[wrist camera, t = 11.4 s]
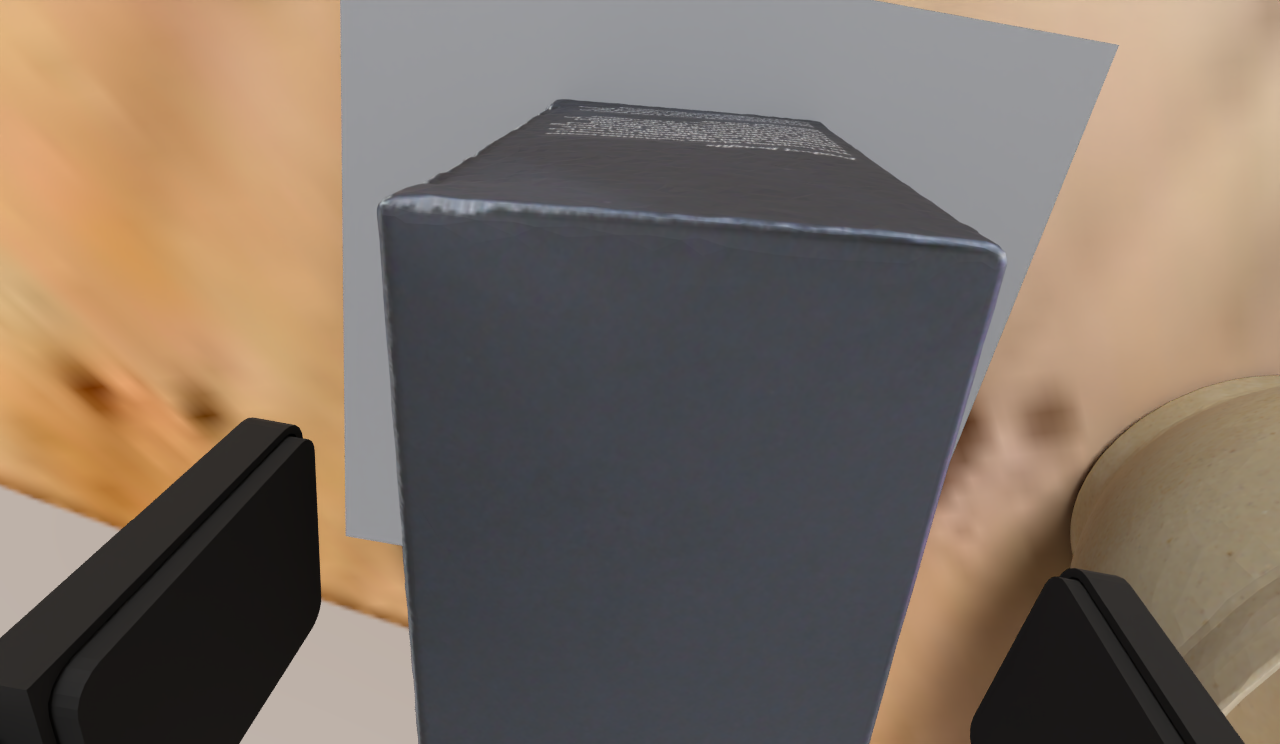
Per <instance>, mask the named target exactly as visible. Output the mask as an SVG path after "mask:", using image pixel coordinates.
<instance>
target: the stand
mask: <svg viewBox="0 0 1280 744" xmlns="http://www.w3.org/2000/svg"><path fill="white" fill-rule="evenodd" d="M340 13H341V112H342V211H343V310H344V409H345V508H346V536H349V537H355V538H361V539H366V540H372V541H378V542H384V543H389V544H395V545H401V546H402V530H401V518H400V506H399V494H398V481H397V473H396V451H395V440H394V429H393V418H392V407H391V389H390V375H389V363H388V351H387V340H386V328H385V313H384V299H383V285H382V270H381V254H380V240H379V230H378V221H377V207H378V204H379V203H380V202H381V200H382V199H384V198H385V197H387V196H389V195H392V194H393V193H395V192H397V191H399V190H402V189H404V188H406V187H409V186H414V185H418V184H422V183H423V182H425V181H426V180H428V179H430V178H432V177H433V176H435V175H436V174H438V173H441V172H447V171H448V170H449V169H451V168H453V167H455V166H456V165H458V164H460V163H462V162H463V160H464V159H466V158H468V157H474V155H475V154H476V152H478V151H480V150H482V149H484V148H485V147H486V145H488V144H490V143H492V142H494V141H496V140H497V139H499V138H501V137H503V136H504V135H506V134H507V133H509V132H510V131H512V130H514V129H516V128H517V127H519V126H520V125H523V124H525V123H526V122H527V121H528V120H529V119H531V118H533V117H535V116H537V115H538V114H539V113H541V112H543V111H544V110H545V109H546V108H547V107H548V106H549V105H550V104H552V103H553V102H554V101H556V100H559V99H571V100H578V101H592V102H604V103H620V104H628V105H641V106H652V107H665V108H678V109H689V110H700V111H715V112H726V113H735V114H754V115H761V116H768V117H772V116H774V117H779V118H791V119H803V120H812V121H818V122H821V123H822V124H824V125H825V126H826V127H827V128H828V129H829V130H830V131H831V132H833V133H834V134H836V135H837V136H839V137H840V138H842V139H843V140H844V141H846V142H847V143H848V144H850V145H852V146H853V147H854V148H855V149H857V150H859V151H860V152H861V153H863V154H864V155H865V156H866V157H868V158H869V159H871V160H872V161H873V162H875V163H876V164H878V165H879V166H880V167H882V168H883V169H885V170H886V171H888V172H889V173H891V174H892V175H893V176H895V177H896V178H897V179H899V180H900V181H901V182H903V183H905V184H906V185H908V186H910V187H911V188H912V189H914V190H915V191H916V192H917V193H919V194H920V195H922V196H923V197H925V198H927V199H928V200H930V201H932V202H933V203H934V204H935V205H937V206H938V207H939V208H941V209H942V210H944V211H945V212H947V213H948V214H950V215H951V216H952V217H954V218H955V219H956V220H958V221H959V222H961V223H963V224H966V225H968V226H970V227H972V228H973V229H975V230H977V231H978V233H979V234H981V235H982V236H984V237H986V238H988V239H989V240H991V241H993V242H994V243H996V244H998V245H999V246H1000V247H1001V248H1002V249H1003V250H1004V251H1005V253H1006V258H1007V262H1008V263H1007V267H1006V270H1005V274H1004V278H1003V281H1002V285H1001V288H1000V292H999V296H998V299H997V303H996V306H995V310H994V313H993V317H992V320H991V323H990V326H989V329H988V332H987V335H986V338H985V342H984V345H983V348H982V352H981V355H980V359H979V363H978V367H977V370H976V374H975V378H974V381H973V385H972V388H971V391H970V395H969V398H968V401H967V405H966V408H965V412H964V415H963V418H962V422H961V425H960V429H959V432H958V435H957V439H956V442H955V446H954V449H953V452H952V455H953V453H954V450H955V448H956V445H957V443H958V440H959V438H960V435H961V433H962V430H963V428H964V425H965V423H966V421H967V418H968V416H969V413H970V411H971V408H972V406H973V403H974V401H975V398H976V396H977V393H978V391H979V389H980V386H981V384H982V381H983V379H984V376H985V374H986V371H987V369H988V366H989V364H990V361H991V359H992V357H993V354H994V352H995V349H996V347H997V344H998V342H999V339H1000V337H1001V334H1002V332H1003V329H1004V327H1005V324H1006V322H1007V320H1008V317H1009V315H1010V312H1011V310H1012V307H1013V305H1014V302H1015V300H1016V297H1017V295H1018V292H1019V290H1020V288H1021V285H1022V283H1023V280H1024V278H1025V275H1026V273H1027V270H1028V268H1029V265H1030V263H1031V260H1032V258H1033V255H1034V253H1035V251H1036V248H1037V246H1038V243H1039V241H1040V238H1041V236H1042V233H1043V231H1044V228H1045V226H1046V223H1047V221H1048V219H1049V216H1050V214H1051V211H1052V209H1053V206H1054V204H1055V201H1056V199H1057V196H1058V194H1059V191H1060V189H1061V187H1062V184H1063V182H1064V179H1065V177H1066V174H1067V172H1068V169H1069V167H1070V164H1071V162H1072V159H1073V157H1074V154H1075V152H1076V150H1077V147H1078V145H1079V142H1080V140H1081V137H1082V135H1083V132H1084V130H1085V127H1086V125H1087V122H1088V120H1089V118H1090V115H1091V113H1092V110H1093V108H1094V105H1095V103H1096V100H1097V98H1098V95H1099V93H1100V90H1101V88H1102V86H1103V83H1104V81H1105V78H1106V76H1107V73H1108V71H1109V68H1110V66H1111V63H1112V61H1113V58H1114V56H1115V53H1116V51H1117V49H1118V46H1119V45H1116V44H1110V43H1105V42H1099V41H1094V40H1088V39H1083V38H1077V37H1072V36H1066V35H1061V34H1055V33H1050V32H1044V31H1039V30H1034V29H1028V28H1023V27H1017V26H1012V25H1006V24H1001V23H995V22H990V21H984V20H979V19H973V18H968V17H962V16H957V15H951V14H946V13H940V12H935V11H929V10H924V9H918V8H913V7H907V6H902V5H896V4H891V3H885V2H880V1H874V0H340ZM951 458H952V456H951ZM950 460H951V459H950Z"/></svg>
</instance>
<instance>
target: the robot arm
mask: <svg viewBox="0 0 1280 744" xmlns="http://www.w3.org/2000/svg"><path fill="white" fill-rule="evenodd" d="M320 605H321V581H320V559H319V537H318V515H317V492H316V470H315V450H314V445H313V443H312V441H310V440H308V439H303V436H302V432H301V430H300V428H299V427H297V426H296V425H291V424H286V423H280V422H275V421H269V420H264V419H258V418H247V419H246V420H244V421H243V422H241V423H240V424H239V425H238V426H237V427H236V428H234V429H233V430H232V431H231V432H230V433H229V434H228V435H227V436H226V437H224V438H223V439H222V440H221V441H220V442H219V443H218V444H217V445H216V446H214V447H213V448H212V449H211V450H210V451H209V452H208V453H207V454H206V455H204V456H203V457H202V458H201V459H200V460H199V461H198V462H197V463H195V464H194V465H193V466H192V467H191V468H190V469H189V470H188V471H187V472H185V473H184V474H183V475H182V476H181V477H180V478H179V479H178V480H177V481H175V482H174V483H173V484H172V485H171V486H170V487H169V488H168V489H167V490H165V491H164V492H163V493H162V494H161V495H160V496H159V497H158V498H157V499H155V500H154V501H153V502H152V503H151V504H150V505H149V506H148V507H147V508H145V509H144V510H143V511H142V512H141V513H140V514H139V515H138V516H136V517H135V518H134V519H133V520H131V521H130V522H129V523H128V524H127V525H126V526H125V527H124V528H122V529H121V530H120V531H119V532H118V533H117V534H116V535H115V536H114V537H112V538H111V539H110V540H109V541H108V542H107V543H106V544H105V545H103V546H102V547H101V548H100V549H99V550H98V551H97V552H96V553H95V554H93V555H92V556H91V557H90V558H89V559H88V560H87V561H86V562H85V563H83V565H81V566H80V567H79V568H78V569H77V570H76V571H74V572H73V573H72V574H71V575H70V576H69V577H68V578H67V579H66V580H65V581H63V582H62V583H61V584H60V585H59V586H58V587H57V588H56V589H55V590H53V591H52V592H51V593H50V594H49V595H48V596H47V597H45V598H44V599H43V600H42V601H41V602H40V603H39V604H38V605H37V606H36V607H35V608H34V609H32V610H31V611H30V612H29V613H28V614H27V615H25V617H23V618H22V619H21V620H20V621H19V622H18V623H17V624H15V625H14V626H13V627H12V628H11V629H10V630H9V631H8V632H7V633H6V634H4V635H3V636H2V637H1V638H0V744H239V743H240V741H241V740H242V738H243V737H244V735H245V734H246V732H247V730H248V729H249V727H250V726H251V724H252V722H253V721H254V719H255V718H256V716H257V715H258V712H259V711H260V710H261V708H262V707H263V705H264V704H265V702H266V700H267V699H268V697H269V696H270V694H271V692H272V691H273V689H274V688H275V686H276V685H277V683H278V681H279V679H280V678H281V677H282V675H283V674H284V672H285V670H286V669H287V667H288V666H289V664H290V663H291V661H292V659H293V658H294V656H295V655H296V653H297V651H298V650H299V648H300V647H301V645H302V644H303V642H304V640H305V639H306V637H307V636H308V634H309V632H310V631H311V629H312V627H313V626H314V624H315V621H316V619H317V617H318V613H319V610H320ZM970 740H971V744H1245V743H1244V742H1243V740H1242V739H1241V738H1240V736H1239V735H1238V733H1237V732H1236V731H1235V729H1234V728H1233V726H1232V725H1231V724H1230V722H1229V721H1228V720H1227V718H1226V717H1225V715H1224V714H1223V713H1222V711H1221V710H1220V708H1219V707H1218V706H1217V704H1216V703H1215V702H1214V700H1213V699H1212V697H1211V696H1210V695H1209V693H1208V692H1207V690H1206V689H1205V688H1204V686H1203V685H1202V684H1201V682H1200V681H1199V679H1198V678H1197V677H1196V675H1195V674H1194V672H1193V671H1192V670H1191V668H1190V667H1189V666H1188V664H1187V663H1186V661H1185V660H1184V659H1183V657H1182V656H1181V654H1180V653H1179V652H1178V650H1177V649H1176V648H1175V646H1174V645H1173V643H1172V642H1171V641H1170V639H1169V638H1168V636H1167V635H1166V634H1165V632H1164V631H1163V630H1162V628H1161V627H1160V625H1159V624H1158V623H1157V621H1156V620H1155V619H1154V617H1153V616H1152V614H1151V613H1150V612H1149V610H1148V609H1147V607H1146V606H1145V605H1144V603H1143V602H1142V601H1141V599H1140V598H1139V596H1138V595H1137V594H1136V592H1135V591H1134V589H1133V588H1132V587H1131V585H1130V584H1129V583H1128V582H1127V581H1126V580H1125V579H1124V578H1121V577H1119V576H1116V575H1110V574H1105V573H1099V572H1094V571H1089V570H1083V569H1078V568H1070V569H1067V570H1066V571H1064V572H1063V573H1062V574H1061V575H1060V577H1052V578H1051V579H1049V580H1048V581H1047V583H1046V584H1045V585H1044V587H1043V589H1042V591H1041V593H1040V595H1039V597H1038V598H1037V600H1036V602H1035V604H1034V606H1033V608H1032V609H1031V611H1030V613H1029V615H1028V617H1027V619H1026V621H1025V622H1024V624H1023V626H1022V628H1021V630H1020V632H1019V634H1018V635H1017V637H1016V639H1015V641H1014V643H1013V645H1012V647H1011V648H1010V650H1009V652H1008V654H1007V656H1006V658H1005V659H1004V661H1003V663H1002V665H1001V667H1000V669H999V671H998V672H997V674H996V676H995V678H994V680H993V682H992V684H991V685H990V687H989V689H988V691H987V693H986V695H985V696H984V698H983V700H982V702H981V704H980V706H979V708H978V709H977V711H976V713H975V715H974V717H973V720H972V723H971V728H970Z"/></svg>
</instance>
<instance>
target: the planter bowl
mask: <svg viewBox="0 0 1280 744" xmlns="http://www.w3.org/2000/svg"><path fill="white" fill-rule="evenodd" d="M1070 539H1071V549H1072V554H1073V559H1072V562H1071V566H1070V568H1078V569H1083V570H1089V571H1094V572H1099V573H1105V574H1110V575H1116V576H1119V577H1121V578H1124V579H1125V580H1126V581H1127V582H1128V583H1129V584H1130V585H1131V587H1132V588H1133V589H1134V591H1135V592H1136V594H1137V595H1138V596H1139V598H1140V599H1141V601H1142V602H1143V603H1144V605H1145V606H1146V607H1147V609H1148V610H1149V612H1150V613H1151V614H1152V616H1153V617H1154V619H1155V620H1156V621H1157V623H1158V624H1159V625H1160V627H1161V628H1162V630H1163V631H1164V632H1165V634H1166V635H1167V636H1168V638H1169V639H1170V641H1171V642H1172V643H1173V645H1174V646H1175V648H1176V649H1177V650H1178V652H1179V653H1180V654H1181V656H1182V657H1183V659H1184V660H1185V661H1186V663H1187V664H1188V666H1189V667H1190V668H1191V670H1192V671H1193V672H1194V674H1195V675H1196V677H1197V678H1198V679H1199V681H1200V682H1201V684H1202V685H1203V686H1204V688H1205V689H1206V690H1207V692H1208V693H1209V695H1210V696H1211V697H1212V699H1213V700H1214V702H1215V703H1216V704H1217V706H1218V707H1219V708H1220V710H1221V711H1222V713H1223V714H1224V715H1225V717H1226V718H1227V720H1228V721H1229V722H1230V724H1231V725H1232V726H1233V728H1234V729H1235V731H1236V732H1237V733H1238V735H1239V736H1240V738H1241V739H1242V740H1243V742H1244V743H1245V744H1280V375H1269V376H1254V377H1247V378H1240V379H1234V380H1229V381H1225V382H1221V383H1218V384H1214V385H1210V386H1207V387H1203V388H1200V389H1198V390H1196V391H1193V392H1191V393H1189V394H1186V395H1184V396H1182V397H1179V398H1177V399H1175V400H1172V401H1170V402H1169V403H1167V404H1165V405H1163V406H1161V407H1160V408H1158V409H1156V410H1155V411H1153V412H1152V413H1150V414H1148V415H1147V416H1145V417H1144V418H1142V419H1141V420H1139V421H1138V422H1137V423H1135V424H1134V425H1133V426H1131V427H1130V428H1129V429H1128V430H1127V431H1126V432H1125V433H1123V434H1122V435H1121V436H1120V437H1119V438H1118V439H1117V440H1116V441H1115V442H1114V443H1113V444H1112V445H1111V446H1110V447H1109V448H1108V449H1107V450H1106V451H1105V452H1104V453H1103V454H1102V456H1101V457H1100V458H1099V459H1098V460H1097V462H1096V463H1095V465H1094V466H1093V468H1092V469H1091V471H1090V472H1089V474H1088V475H1087V477H1086V479H1085V481H1084V483H1083V485H1082V487H1081V489H1080V491H1079V493H1078V496H1077V499H1076V502H1075V505H1074V509H1073V514H1072V518H1071V527H1070Z"/></svg>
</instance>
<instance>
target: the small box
mask: <svg viewBox="0 0 1280 744" xmlns="http://www.w3.org/2000/svg"><path fill="white" fill-rule="evenodd" d="M377 221H378V230H379V240H380V254H381V270H382V285H383V299H384V313H385V328H386V340H387V351H388V363H389V375H390V389H391V407H392V418H393V429H394V440H395V451H396V473H397V481H398V494H399V506H400V518H401V530H402V546H403V562H404V573H405V590H406V598H407V607H408V622H409V635H410V645H411V660H412V671H413V678H414V690H415V710H416V724H417V732H418V744H869V743H870V739H871V735H872V732H873V728H874V725H875V721H876V718H877V714H878V710H879V707H880V703H881V700H882V696H883V693H884V689H885V685H886V682H887V678H888V675H889V671H890V667H891V664H892V660H893V656H894V652H895V649H896V645H897V642H898V638H899V635H900V632H901V628H902V625H903V622H904V618H905V615H906V612H907V608H908V605H909V602H910V598H911V595H912V591H913V588H914V584H915V581H916V577H917V574H918V570H919V567H920V563H921V560H922V556H923V553H924V549H925V546H926V542H927V539H928V535H929V532H930V528H931V525H932V521H933V518H934V514H935V511H936V507H937V504H938V500H939V497H940V494H941V490H942V487H943V483H944V480H945V476H946V473H947V469H948V466H949V463H950V459H951V456H952V452H953V449H954V446H955V442H956V439H957V435H958V432H959V429H960V425H961V422H962V418H963V415H964V412H965V408H966V405H967V401H968V398H969V395H970V391H971V388H972V385H973V381H974V378H975V374H976V370H977V367H978V363H979V359H980V355H981V352H982V348H983V345H984V342H985V338H986V335H987V332H988V329H989V326H990V323H991V320H992V317H993V313H994V310H995V306H996V303H997V299H998V296H999V292H1000V288H1001V285H1002V281H1003V278H1004V274H1005V270H1006V267H1007V263H1008V262H1007V258H1006V253H1005V251H1004V250H1003V249H1002V248H1001V247H1000V246H999V245H998V244H996V243H994V242H993V241H991V240H989V239H988V238H986V237H984V236H982V235H981V234H979V233H978V231H977V230H975V229H973V228H972V227H970V226H968V225H966V224H963V223H961V222H959V221H958V220H956V219H955V218H954V217H952V216H951V215H950V214H948V213H947V212H945V211H944V210H942V209H941V208H939V207H938V206H937V205H935V204H934V203H933V202H932V201H930V200H928V199H927V198H925V197H923V196H922V195H920V194H919V193H917V192H916V191H915V190H914V189H912V188H911V187H910V186H908V185H906V184H905V183H903V182H901V181H900V180H899V179H897V178H896V177H895V176H893V175H892V174H891V173H889V172H888V171H886V170H885V169H883V168H882V167H880V166H879V165H878V164H876V163H875V162H873V161H872V160H871V159H869V158H868V157H866V156H865V155H864V154H863V153H861V152H860V151H859V150H857V149H855V148H854V147H853V146H852V145H850V144H848V143H847V142H846V141H844V140H843V139H842V138H840V137H839V136H837V135H836V134H834V133H833V132H831V131H830V130H829V129H828V128H827V127H826V126H825V125H824V124H822V123H821V122H818V121H812V120H803V119H791V118H779V117H774V116H772V117H768V116H761V115H754V114H735V113H726V112H715V111H700V110H689V109H678V108H665V107H652V106H641V105H628V104H620V103H604V102H592V101H578V100H571V99H559V100H556V101H554V102H553V103H552V104H550V105H549V106H548V107H547V108H546V109H545V110H544V111H543V112H541V113H539V114H538V115H537V116H535V117H533V118H531V119H529V120H528V121H527V122H526V123H525V124H523V125H520V126H519V127H517V128H516V129H514V130H512V131H510V132H509V133H507V134H506V135H504V136H503V137H501V138H499V139H497V140H496V141H494V142H492V143H490V144H488V145H486V147H485V148H484V149H482V150H480V151H478V152H476V154H475V155H474V157H468V158H466V159H464V160H463V162H462V163H460V164H458V165H456V166H455V167H453V168H451V169H449V170H448V171H447V172H441V173H438V174H436V175H435V176H433V177H432V178H430V179H428V180H426V181H425V182H423V183H422V184H418V185H414V186H409V187H406V188H404V189H402V190H399V191H397V192H395V193H393V194H392V195H389V196H387V197H385V198H384V199H382V200H381V202H380V203H379V204H378V207H377Z"/></svg>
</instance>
